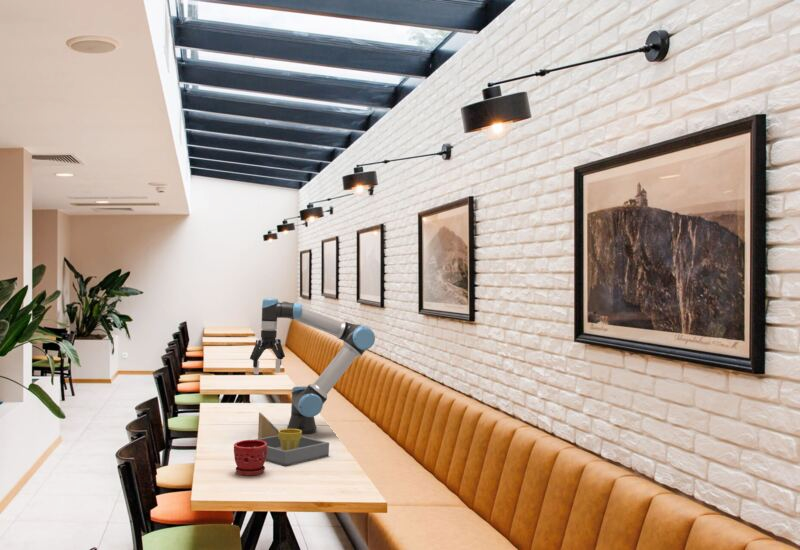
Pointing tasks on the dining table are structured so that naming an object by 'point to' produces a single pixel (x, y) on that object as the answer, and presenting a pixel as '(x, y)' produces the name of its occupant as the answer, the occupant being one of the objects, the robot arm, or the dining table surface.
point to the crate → (295, 451)
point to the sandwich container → (266, 427)
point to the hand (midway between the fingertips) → (267, 373)
